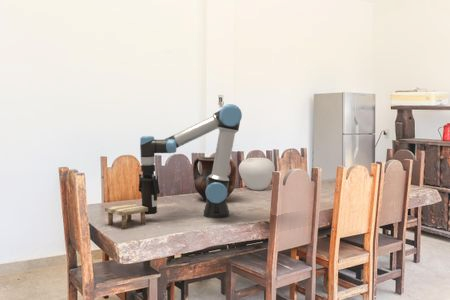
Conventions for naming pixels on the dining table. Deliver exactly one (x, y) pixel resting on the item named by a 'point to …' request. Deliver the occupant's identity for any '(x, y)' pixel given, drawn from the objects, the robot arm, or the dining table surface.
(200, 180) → the jug
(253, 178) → the vase
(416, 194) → the dining table surface
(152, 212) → the container
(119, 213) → the footstool
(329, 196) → the dining table surface
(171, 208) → the dining table surface
